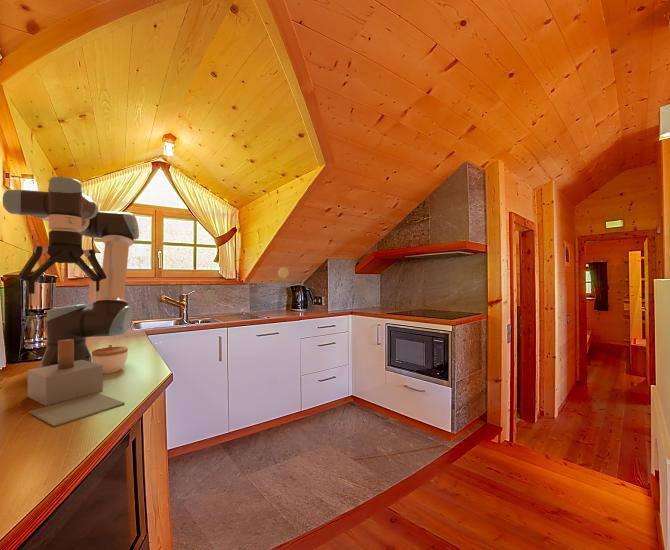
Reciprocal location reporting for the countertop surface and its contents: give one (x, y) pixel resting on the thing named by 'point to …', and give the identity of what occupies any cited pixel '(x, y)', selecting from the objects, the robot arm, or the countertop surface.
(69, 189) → the robot arm
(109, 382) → the countertop surface
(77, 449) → the countertop surface
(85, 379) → the cover
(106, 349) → the lidded jar
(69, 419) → the mat
